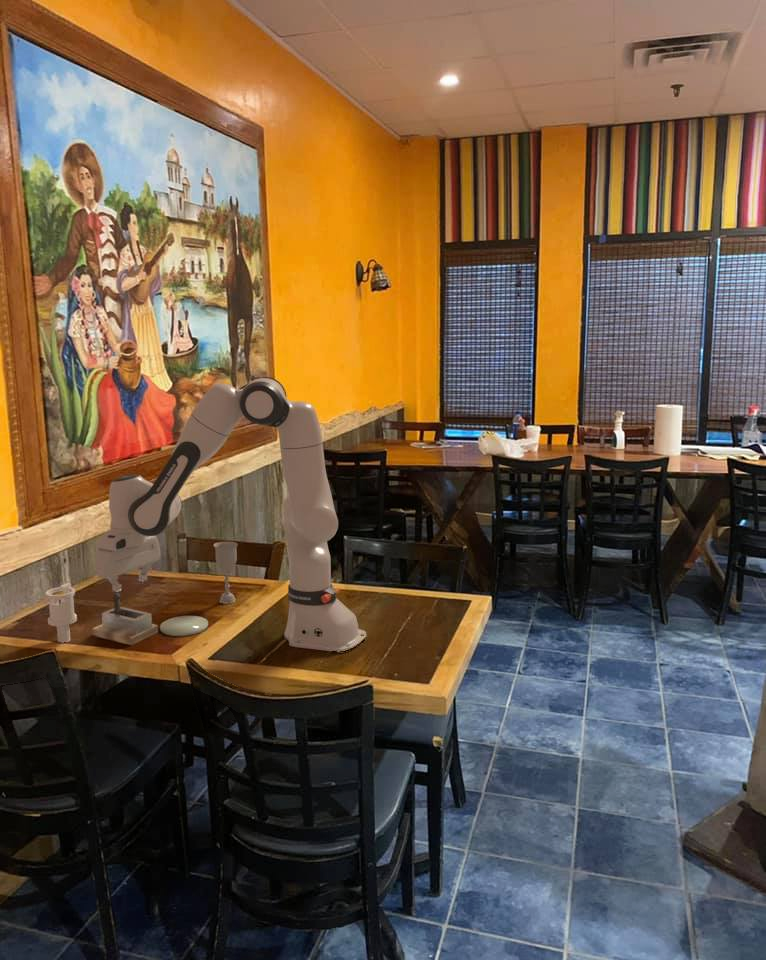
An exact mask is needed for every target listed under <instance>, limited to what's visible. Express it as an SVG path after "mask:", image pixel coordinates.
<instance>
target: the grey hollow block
mask: <svg viewBox="0 0 766 960" xmlns="http://www.w3.org/2000/svg"><path fill="white" fill-rule="evenodd" d="M120 609H121V615H117V614H115V613H114V607H113V608H111V609H108V610H106V611H103V612H101V619H102V620H101V622H102V623H101V624H103V627H104V628H108V629H112V630H116V631H121V632H125V633H129V634H133V635H138V634H140V633H142V632H144V631H146V630H148V629H150V628H152V624H153V623H152V622H153V620H152V619H153V618H152V613H149V612H146V611H141V610H138V609H137V610H136V609H133V608H128V607H124V606H120Z"/></svg>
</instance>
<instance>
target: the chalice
mask: <svg viewBox="0 0 766 960" xmlns="http://www.w3.org/2000/svg"><path fill="white" fill-rule="evenodd" d="M238 545H239V543H237V542H234V541H218V542H215V543H214V544H213V547H214V551H215V562H216V565H217V567H218V568H219V571H220V572H221V574H223V575H224V576H225V577H224V583H225V585H224V586H223V587H224V588H225V592H224V593H222V594H221V596H220V600H219V603H220V604H221V603H223V604H222V605H229V604H228V603H232V602H235V600H236V598H235V596H234V594H233V592H230V587H231V585H230V584H229V583H230V581H231V580H230V578H229V575H230V574H232V573H233V570H234V568H235V566H236V563H237V561H238V557H237V553H238V552H237V548H238ZM235 603H236V602H235ZM232 604H233V603H232Z"/></svg>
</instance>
